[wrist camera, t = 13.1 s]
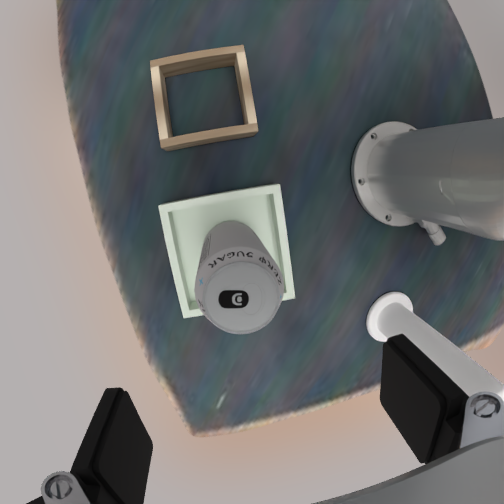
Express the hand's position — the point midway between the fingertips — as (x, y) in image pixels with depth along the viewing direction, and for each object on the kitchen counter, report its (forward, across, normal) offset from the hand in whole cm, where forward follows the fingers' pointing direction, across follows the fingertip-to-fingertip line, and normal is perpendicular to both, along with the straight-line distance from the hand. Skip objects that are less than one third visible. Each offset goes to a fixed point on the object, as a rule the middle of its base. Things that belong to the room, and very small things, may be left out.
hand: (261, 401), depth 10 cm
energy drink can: (+25, 0, 0) cm, 25 cm away
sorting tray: (+25, 0, 0) cm, 25 cm away
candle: (+26, -18, +13) cm, 34 cm away
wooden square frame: (+25, 0, -16) cm, 30 cm away
